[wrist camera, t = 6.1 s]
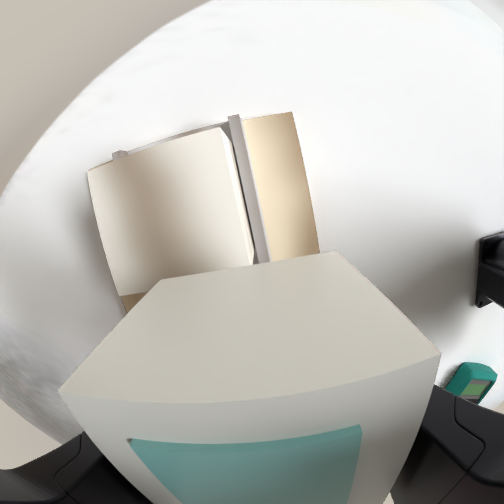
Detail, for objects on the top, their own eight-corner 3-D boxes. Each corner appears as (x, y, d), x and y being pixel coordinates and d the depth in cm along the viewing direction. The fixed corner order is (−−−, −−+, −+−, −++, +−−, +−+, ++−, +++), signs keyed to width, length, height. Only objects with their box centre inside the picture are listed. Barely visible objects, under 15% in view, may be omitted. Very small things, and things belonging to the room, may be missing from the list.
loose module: (336, 250, 7) (447, 360, 2) (342, 404, 9) (376, 519, 4) (160, 279, 8) (52, 397, 3) (211, 421, 9) (189, 535, 4)
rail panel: (290, 115, 16) (306, 77, 9) (333, 432, 22) (344, 483, 15) (96, 170, 17) (33, 169, 10) (199, 446, 23) (189, 494, 17)
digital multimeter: (386, 449, 24) (393, 465, 21) (461, 357, 20) (475, 372, 17) (422, 446, 24) (429, 460, 21) (489, 363, 20) (502, 376, 18)
